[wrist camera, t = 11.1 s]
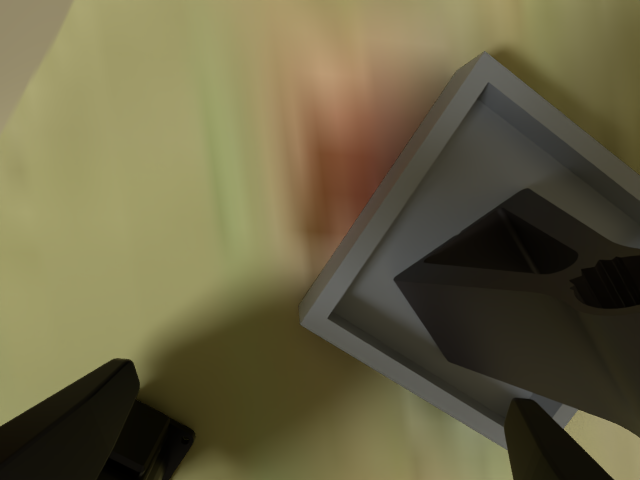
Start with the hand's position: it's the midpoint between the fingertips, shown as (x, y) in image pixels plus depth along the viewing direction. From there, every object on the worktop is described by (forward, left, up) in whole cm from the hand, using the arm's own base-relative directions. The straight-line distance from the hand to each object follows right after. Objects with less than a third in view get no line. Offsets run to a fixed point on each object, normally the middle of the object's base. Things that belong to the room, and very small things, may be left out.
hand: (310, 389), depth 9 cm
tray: (+6, -9, -13) cm, 17 cm away
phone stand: (+6, -9, -12) cm, 16 cm away
